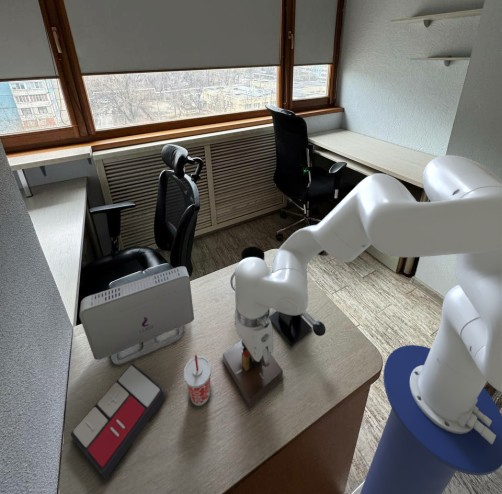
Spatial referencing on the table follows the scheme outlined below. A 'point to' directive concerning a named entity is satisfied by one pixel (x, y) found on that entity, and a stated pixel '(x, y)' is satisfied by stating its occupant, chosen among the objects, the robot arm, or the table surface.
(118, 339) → the network device
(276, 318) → the handle bracket
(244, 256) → the glass holder
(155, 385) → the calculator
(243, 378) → the lock plate
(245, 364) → the thumb turn
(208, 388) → the beverage cup
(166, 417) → the table surface
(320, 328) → the door lever
